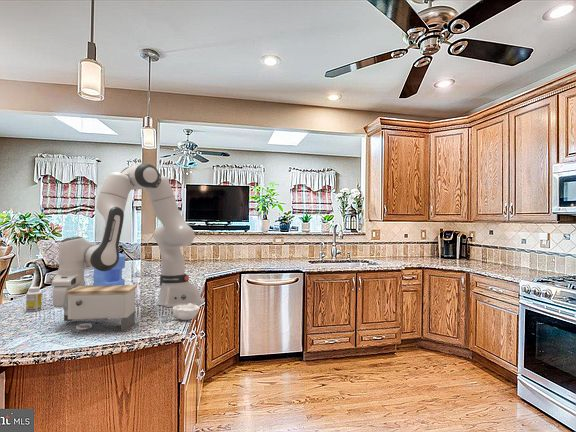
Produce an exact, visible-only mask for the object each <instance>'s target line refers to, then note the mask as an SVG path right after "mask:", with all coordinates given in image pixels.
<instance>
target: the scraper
mask: <svg viewBox="0 0 576 432" xmlns="http://www.w3.org/2000/svg"><path fill="white" fill-rule="evenodd" d="M104 320H105V321H106V320H109V318H98V319H68V315H64V314H63V321H64V322H73V321H74V322H75V321H76V322H77V321H104Z"/></svg>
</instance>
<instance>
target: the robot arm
mask: <svg viewBox="0 0 576 432" xmlns="http://www.w3.org/2000/svg"><path fill="white" fill-rule="evenodd" d="M143 189H145V190H146V192H147V193H148V196H149V199H150V200H149V201H150V204H151V206H152V210H153V213H154V216H155V217H156V218H157V219H158V220H159V222H160V223H161V225H159V226H157V227H156V228H155V229H154V232H153V238H154V241H155V242H156V243H157V245H158V246H157V247H158V249H159V254H160V259H161V260H160V261H161V262H160V263H161V265H160V266H161V268H160V269H161V272H160V277H159V285H160V288H159V295H158V300H157V303H156V304H157V305H158V306H162V307H165V308H173V307H174V306H177V305H188V304H189V303H191V304H193V305H197V306H201V305H203V304H204V303H205V298H204V297H201V293H200V290H199V288H198V287H197V286H196V285H194V284H193V283H192V282H190V281H189V280H190V276H189V274H187V273H185V271H186V269H185V266H186V258H185V256H184V255H183V253H182V251H181V248H183V247H187V246H189V245H192V243H193V242H194V239H195V237H196V235H195V231H194V229H193V228H192V227H191V226H190V225H189V224H188V223H187V222H186V220H185V218H184V217H183V215H182V214H181V212H180V210H179V207H178V203H177V199H176V197H175V194H174V190H173V188H172V186H171V184H170V182H169V179H168V178H167V176H166V175H163V174H161V173H160V172H159V170H158V169H157V168H156V166H155V165H152V164H150V163H141V164H140V163H139V164H134V165H131V166H128V167H125V168H123V170H121V171H112V172H110V173H108V174H107V176H106V178H105V179H104V181H103V183H102V186H101V188H100V191H99V193H98V196H97V202H96V209H97V211H98V213H99V214H100V215H101V216H102V217H103V219H104V229H103V232H102V238H101V241H100V243H99V244H97V243H95V242H91V241H89V240H87V239H85V238H84V237H82V236H71V237H67V238H64V239H61V241H60V243H59V247H58V256H57V257H58V260H57V261H58V266H59V267H58V269H57V273H58V275H57V274H56V277H54V279H52V281H51V287H52V306H53V307H54V308H62V309H63V311H64V312H63V316H64V315H68V294H66V291H69V290H71V289H73V288H76V287H78V286H86V280H85V268H88V267H89V268H91V269H94V268H95V269H97V270H100V271H109V270H111V269H113V268H114V267H115V266H116V265H117V263H118V261H119V253H120V250H119V245H120V240H121V236H122V235H121V234H122V229H123V224H124V217H125V210H126V205H127V202H128V199H129V195H130V193H131V191H132V190H143Z"/></svg>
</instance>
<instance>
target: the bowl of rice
mask: <svg viewBox="0 0 576 432" xmlns="http://www.w3.org/2000/svg"><path fill="white" fill-rule="evenodd" d="M200 307H201V305H193V304H191V303H189V304H188V305H177V306H174V307H172V315H173V316H174V317H175V318H176V319H179V320H180V321H190V320H193V319H195V317H196V316H197V315H198V313H199V310H200V309H201V308H200Z"/></svg>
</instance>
